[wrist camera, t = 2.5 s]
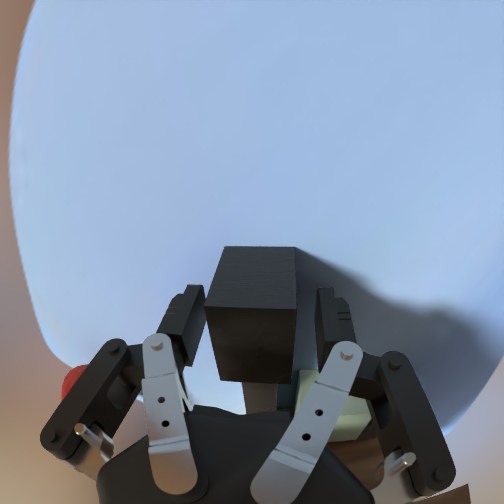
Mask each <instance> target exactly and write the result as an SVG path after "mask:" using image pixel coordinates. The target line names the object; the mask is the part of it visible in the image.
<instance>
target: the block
mask: <svg viewBox="0 0 504 504" xmlns="http://www.w3.org/2000/svg"><path fill="white" fill-rule="evenodd" d="M319 375H320V373H318V370H300V372H299V378H298V385H297V391H296V397H295V403H294V417H295V415H296V413H297V412H298V410H299V408H300V406H301V404H302V403H303V401H304V399H305V397H306V395H307V393H308V392H309V390H310V388H311V386H312V384H313V383H314V381H317V379H318V377H319ZM370 420H371V415H370V412H369V409H368V406H367V403H366V400H365V399H362V398H357V397H353V396H349V395H348V397H347V399H346V401H345V404H344V406H343V408H342V411H341V413H340V415H339V418H338V420H337V422H336V424H335V426H334V429H333V431H332V433H331V435H330V437H329V439H328V441H327V442H332V441H347V440H356V439H357V438H358V436H359V435H360V434H361V432H362V431H363V430H364V428H365V427H366V425H367V424H368V422H369V421H370Z"/></svg>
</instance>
